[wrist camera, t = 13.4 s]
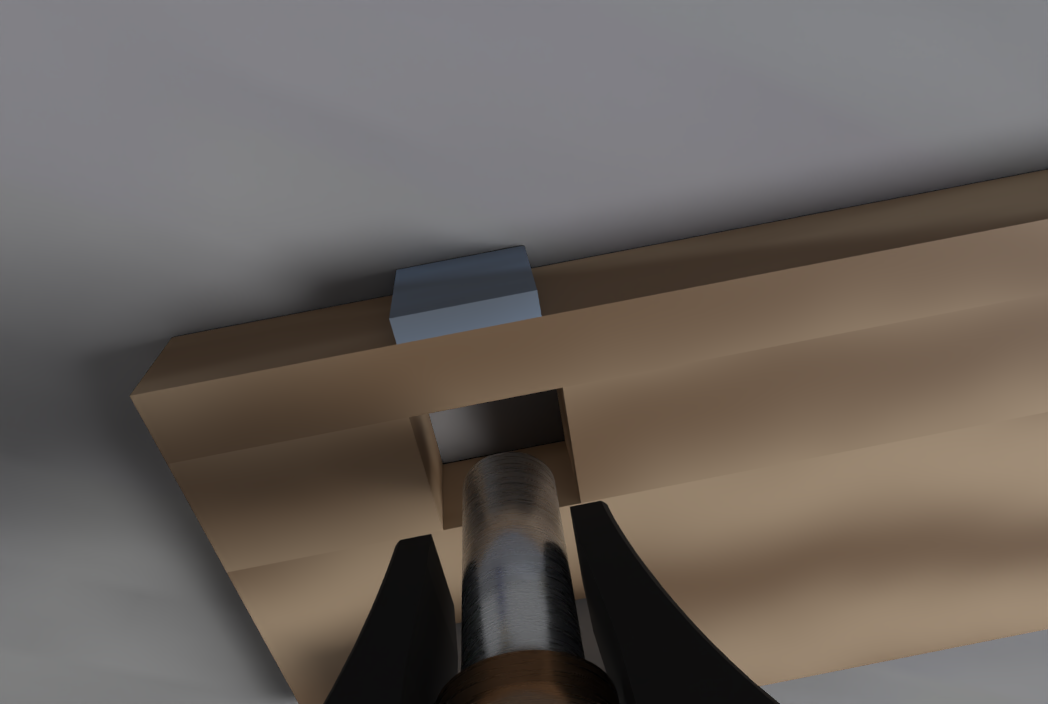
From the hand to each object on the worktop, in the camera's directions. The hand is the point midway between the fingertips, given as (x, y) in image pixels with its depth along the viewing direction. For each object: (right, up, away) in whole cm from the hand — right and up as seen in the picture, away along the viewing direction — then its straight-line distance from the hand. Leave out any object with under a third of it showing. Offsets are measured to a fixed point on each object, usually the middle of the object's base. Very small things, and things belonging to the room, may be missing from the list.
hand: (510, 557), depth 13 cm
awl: (0, +1, +2) cm, 2 cm away
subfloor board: (+6, +1, +7) cm, 9 cm away
